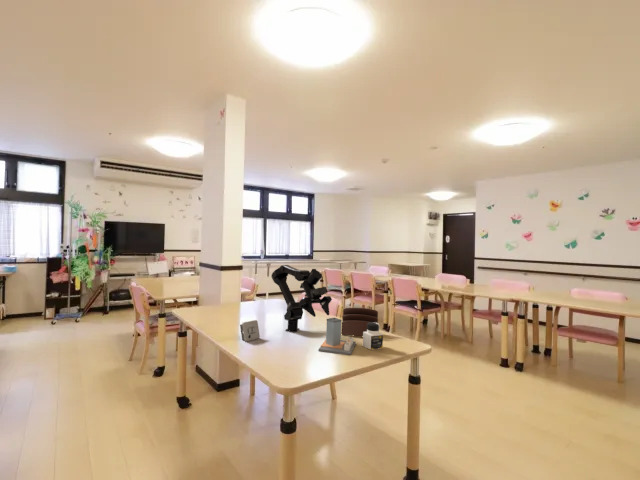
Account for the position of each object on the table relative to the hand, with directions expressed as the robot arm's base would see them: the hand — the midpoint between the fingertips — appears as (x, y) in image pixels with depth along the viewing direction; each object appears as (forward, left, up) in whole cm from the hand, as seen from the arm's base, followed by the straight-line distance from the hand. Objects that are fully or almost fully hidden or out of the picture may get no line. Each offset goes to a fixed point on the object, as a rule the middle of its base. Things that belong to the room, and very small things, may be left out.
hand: (321, 315), depth 167 cm
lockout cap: (+5, +7, -12) cm, 15 cm away
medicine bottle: (-1, +26, -14) cm, 29 cm away
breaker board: (+5, +10, -13) cm, 17 cm away
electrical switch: (+9, -35, -14) cm, 39 cm away
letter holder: (-23, +17, -14) cm, 31 cm away
